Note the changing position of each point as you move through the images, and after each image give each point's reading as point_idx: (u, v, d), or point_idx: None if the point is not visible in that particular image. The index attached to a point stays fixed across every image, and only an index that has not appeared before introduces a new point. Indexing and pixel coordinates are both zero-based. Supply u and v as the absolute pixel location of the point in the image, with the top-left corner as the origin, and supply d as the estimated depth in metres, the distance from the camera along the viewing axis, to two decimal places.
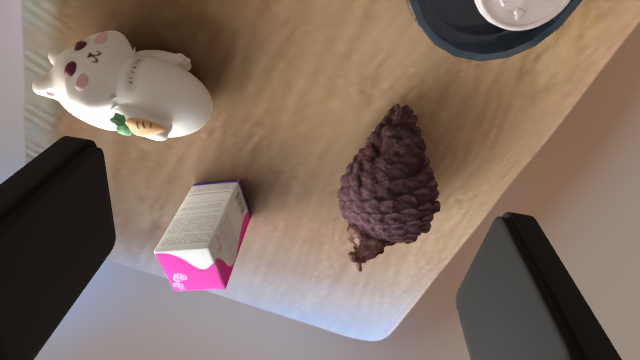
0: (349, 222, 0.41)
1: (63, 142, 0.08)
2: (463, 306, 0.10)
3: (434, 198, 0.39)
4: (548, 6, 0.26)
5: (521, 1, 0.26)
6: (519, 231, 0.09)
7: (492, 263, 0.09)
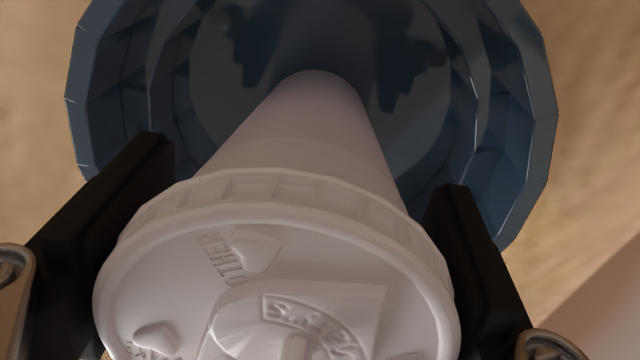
0: None
1: (142, 135, 0.09)
2: None
3: None
4: None
5: None
6: (451, 198, 0.09)
7: (430, 230, 0.10)
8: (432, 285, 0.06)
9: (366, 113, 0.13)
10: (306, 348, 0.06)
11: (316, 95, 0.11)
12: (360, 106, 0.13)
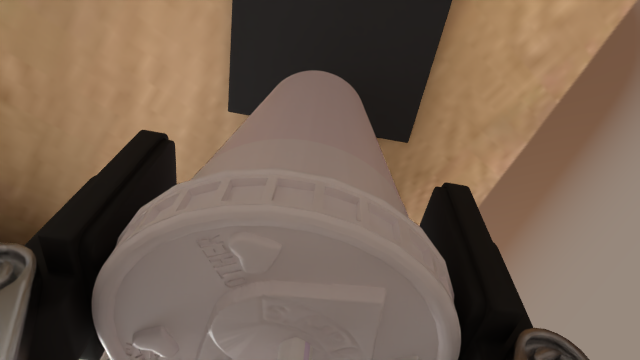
0: None
1: (142, 135, 0.09)
2: None
3: None
4: None
5: None
6: (451, 198, 0.09)
7: (430, 230, 0.10)
8: (431, 287, 0.06)
9: (366, 114, 0.13)
10: (306, 350, 0.06)
11: (316, 96, 0.11)
12: (360, 107, 0.13)
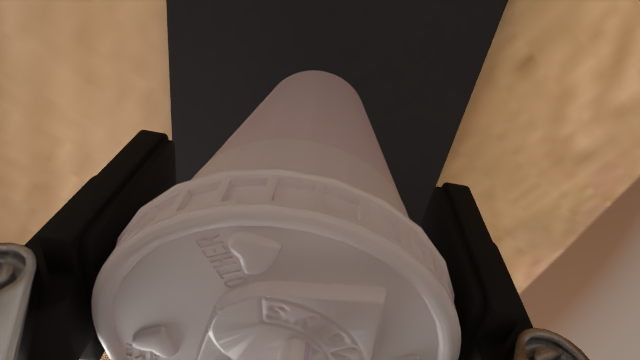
0: None
1: (143, 135, 0.09)
2: None
3: None
4: None
5: None
6: (451, 198, 0.09)
7: (430, 230, 0.10)
8: (432, 288, 0.06)
9: (366, 114, 0.13)
10: (306, 350, 0.06)
11: (316, 96, 0.11)
12: (360, 107, 0.13)
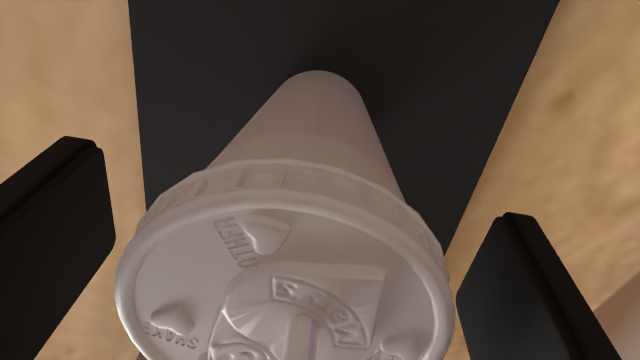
0: None
1: (63, 142, 0.08)
2: (463, 307, 0.10)
3: None
4: None
5: None
6: (519, 231, 0.09)
7: (492, 263, 0.09)
8: (428, 267, 0.07)
9: (367, 112, 0.14)
10: (312, 326, 0.07)
11: (319, 94, 0.12)
12: (361, 105, 0.13)
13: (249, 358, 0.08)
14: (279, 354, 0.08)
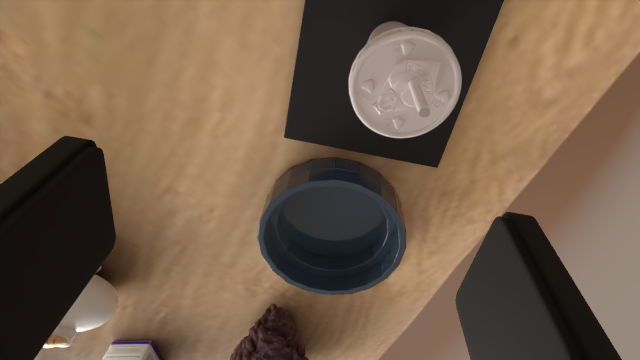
0: None
1: (63, 142, 0.08)
2: (463, 307, 0.10)
3: None
4: (430, 115, 0.24)
5: (399, 110, 0.24)
6: (519, 231, 0.09)
7: (492, 263, 0.09)
8: (454, 59, 0.22)
9: None
10: (417, 80, 0.23)
11: (403, 25, 0.27)
12: None
13: (392, 100, 0.23)
14: (403, 98, 0.23)
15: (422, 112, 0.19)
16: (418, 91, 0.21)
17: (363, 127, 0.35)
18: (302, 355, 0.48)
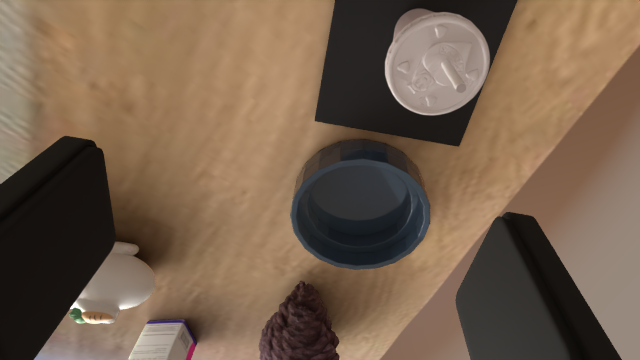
0: None
1: (63, 142, 0.08)
2: (463, 306, 0.10)
3: (331, 357, 0.49)
4: (459, 93, 0.26)
5: (431, 89, 0.26)
6: (519, 231, 0.09)
7: (492, 263, 0.09)
8: (483, 41, 0.24)
9: None
10: (450, 61, 0.25)
11: (431, 11, 0.29)
12: None
13: (426, 80, 0.26)
14: (436, 77, 0.26)
15: (459, 88, 0.22)
16: (452, 70, 0.23)
17: (389, 109, 0.37)
18: (329, 329, 0.51)
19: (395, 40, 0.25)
